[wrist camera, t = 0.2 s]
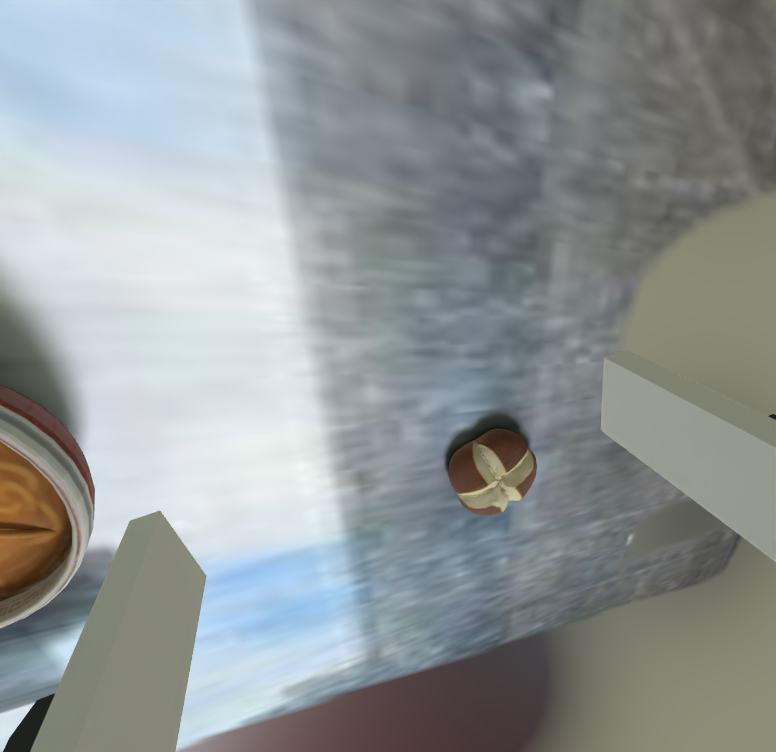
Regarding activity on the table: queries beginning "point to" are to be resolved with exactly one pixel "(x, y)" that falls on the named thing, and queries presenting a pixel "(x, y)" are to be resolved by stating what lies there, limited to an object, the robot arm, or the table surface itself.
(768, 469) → the robot arm
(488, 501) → the bread
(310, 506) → the table surface
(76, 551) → the bowl
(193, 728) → the table surface
